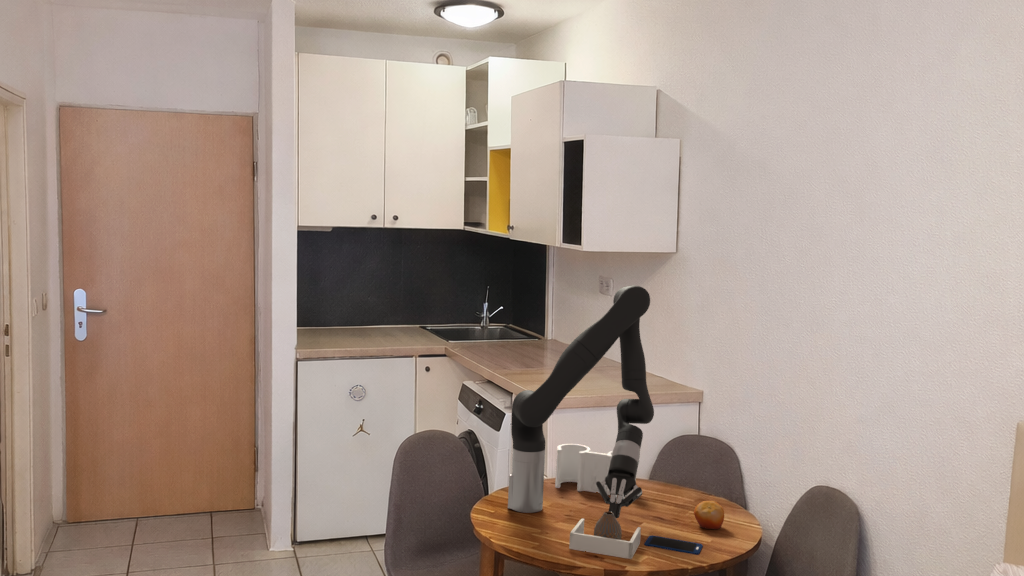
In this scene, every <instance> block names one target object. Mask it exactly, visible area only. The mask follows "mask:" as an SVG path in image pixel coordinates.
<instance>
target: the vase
mask: <svg viewBox="0 0 1024 576" xmlns="http://www.w3.org/2000/svg"><path fill="white" fill-rule="evenodd" d="M622 531H623V530H622V527H621V524H620V522H619V521H618V518H617V519H616V518H615V516H614V513H613V512H608V511H604V512H603V514H602V516H601V517H600V518H599V519H598V520H597V522H595V526H594V530H593V536H599V537H606V538H612V539H618V540H622V535H623V533H622Z"/></svg>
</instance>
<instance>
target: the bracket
mask: <svg viewBox="0 0 1024 576" xmlns="http://www.w3.org/2000/svg"><path fill="white" fill-rule="evenodd" d="M612 453H613V450H610V451H608V452H607V453H604V452H603V453H602V452H596V451H591V448H590V447H589V446H588V445H584V444H578V443H563V444H559V445H557V446H556V458H555V483H554V488H557V489H560V488H561V486H562V485H561V484H562V483H567V482H568V483H571V482H572V483H577V486H576V488H577V489H576V491H577V492H584V491H585V492H590V493H596V492H598V493H597V494H600V492H599V490H598V489H597V485H596V482H598V481H599V482H602V481H604V480H605V477H606V476H607V475H608V471H609V466H610V462H611V457H612ZM636 480H637V478H636V479H635V481H636ZM636 482H637V481H636ZM605 487H606V489H605V491H606V493H607V495H608V496H611V492H610V491H609V489H608V487H607V485H606V486H605ZM632 492H633V490H632V491H631V492H630V493H628V494H627V495H626V496H625V498H626V497H627V496H628V495H629V494H631V493H632Z"/></svg>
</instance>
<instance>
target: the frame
mask: <svg viewBox="0 0 1024 576" xmlns="http://www.w3.org/2000/svg"><path fill="white" fill-rule="evenodd" d="M641 531H642V527H640V526H637V528H636V529H635V531H634V532H633V534H632V537H631V538H630V540H625V539H621V540H618V539H612V538H606V537H599V536H594V534H593V535H592V534H586V533H585V518H581V519H580V520H579V521H578V522H577V523H576V525H575V526H574V527H573V528H572V530H571V531H570V533H569V545H568V546H569V547H568V549H569V550H575V551H581V552H585V551H586V553H593V554H598V555H605V556H610V557H617V558H623V559H629V560H632V559H633V557H634V555H635V553H636V552H637V550H638V548H639V546H640V543H641Z"/></svg>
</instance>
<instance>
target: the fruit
mask: <svg viewBox="0 0 1024 576" xmlns="http://www.w3.org/2000/svg"><path fill="white" fill-rule="evenodd" d="M693 514H694V517H695V519H696V522H697V524H698V525H699V527H700V528H702V529H707V530H718V529H720V528H722V525H723V523H724V520H725V510H724V508H723V506H722V505H720V503H718V502H717V501H716V500H704V501H700V503H697V505H695V507H694V511H693Z"/></svg>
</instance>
